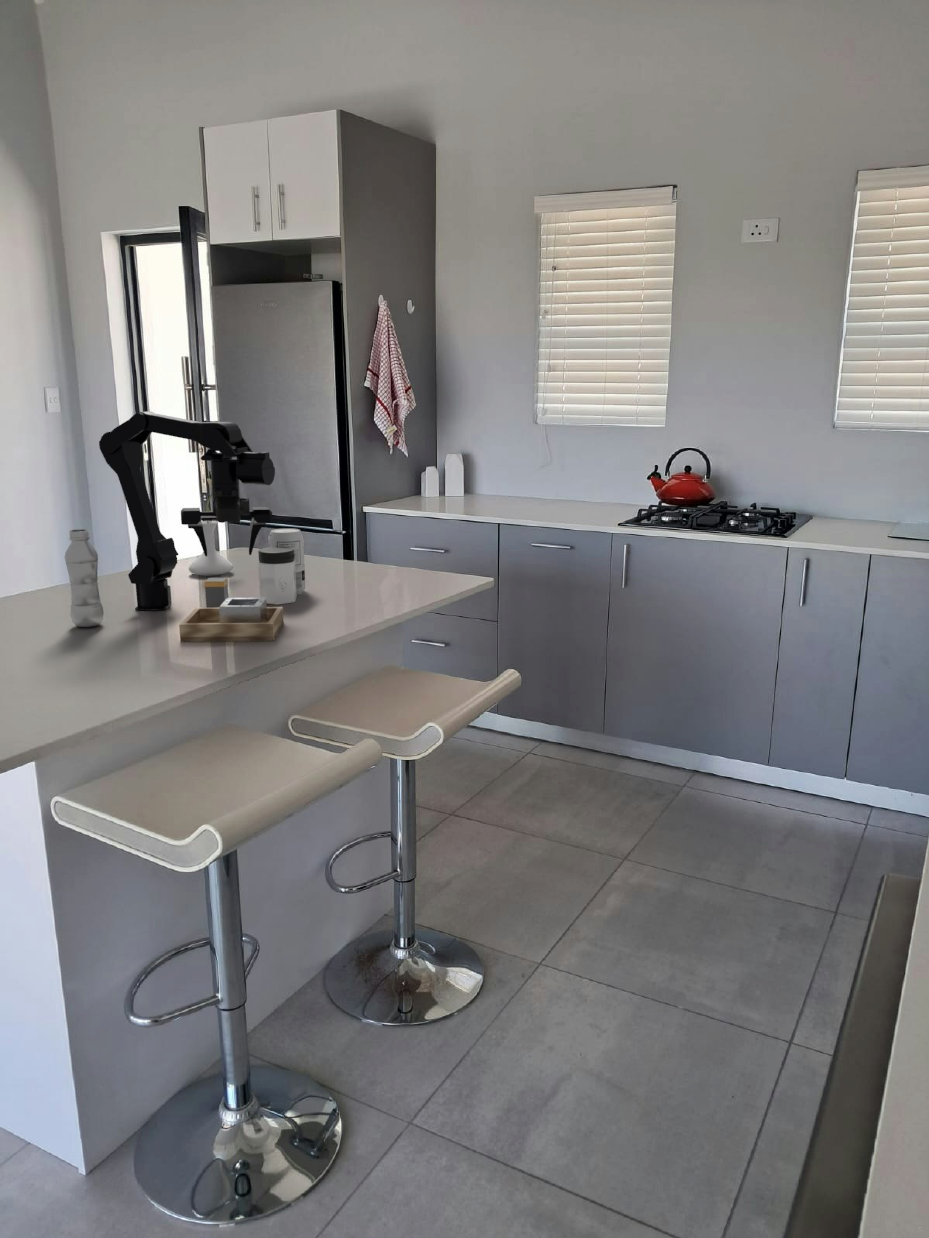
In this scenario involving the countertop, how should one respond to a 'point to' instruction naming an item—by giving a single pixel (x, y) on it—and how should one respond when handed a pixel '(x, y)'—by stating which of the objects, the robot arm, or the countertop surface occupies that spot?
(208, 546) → the flower in vase
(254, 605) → the socket
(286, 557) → the jar
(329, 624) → the countertop surface
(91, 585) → the plastic bottle
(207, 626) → the oak box
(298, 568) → the supplement can
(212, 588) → the block
